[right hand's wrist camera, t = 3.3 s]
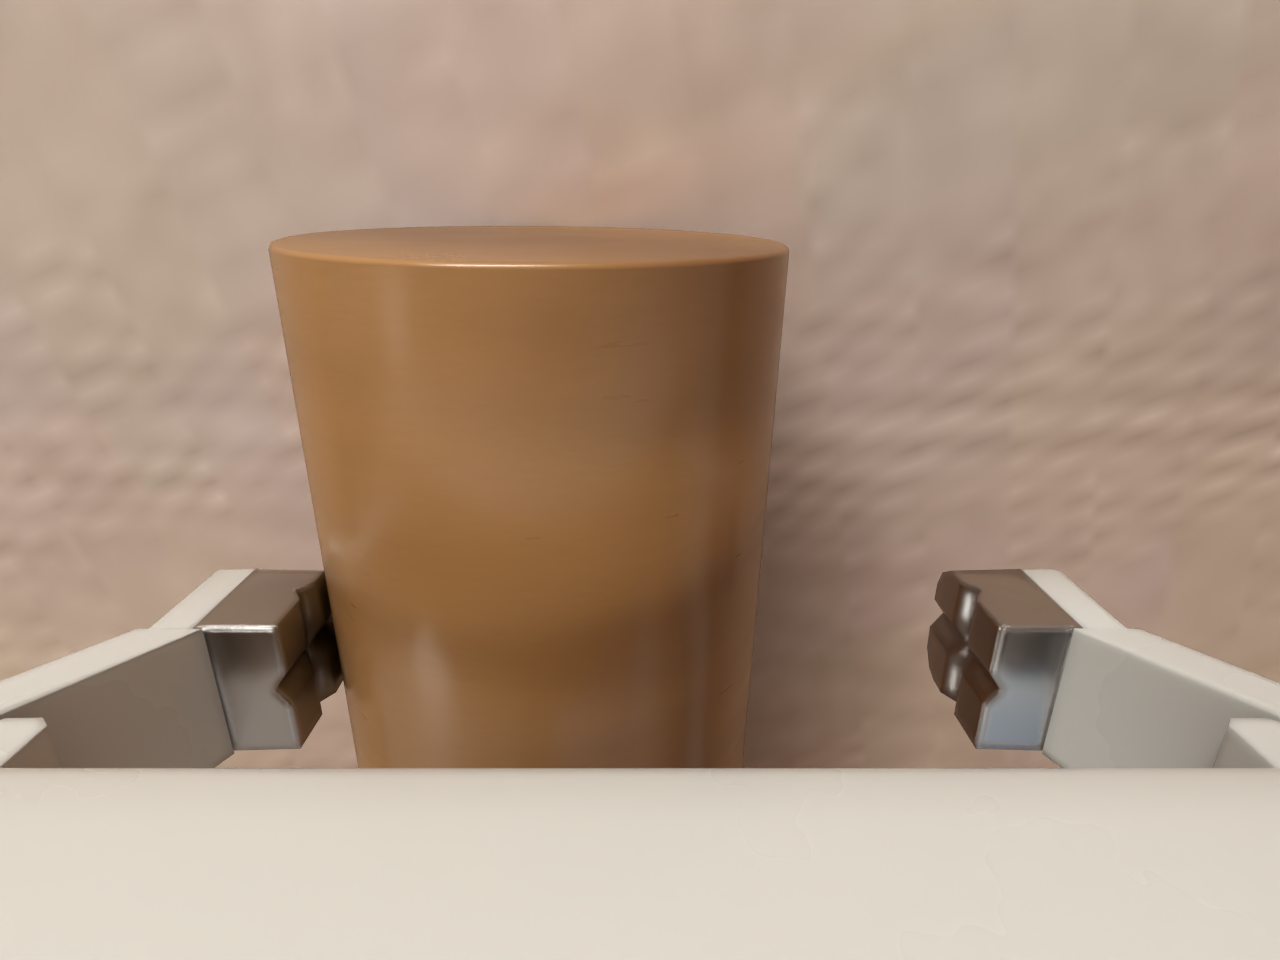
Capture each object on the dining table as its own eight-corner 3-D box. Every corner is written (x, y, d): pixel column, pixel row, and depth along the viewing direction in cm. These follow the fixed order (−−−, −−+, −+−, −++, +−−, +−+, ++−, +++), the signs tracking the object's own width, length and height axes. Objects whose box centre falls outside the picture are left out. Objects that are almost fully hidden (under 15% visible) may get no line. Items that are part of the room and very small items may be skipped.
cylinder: (487, 222, 12) (136, 241, 7) (836, 236, 10) (668, 280, 5) (538, 1045, 21) (392, 1311, 16) (731, 1156, 19) (631, 1508, 14)
